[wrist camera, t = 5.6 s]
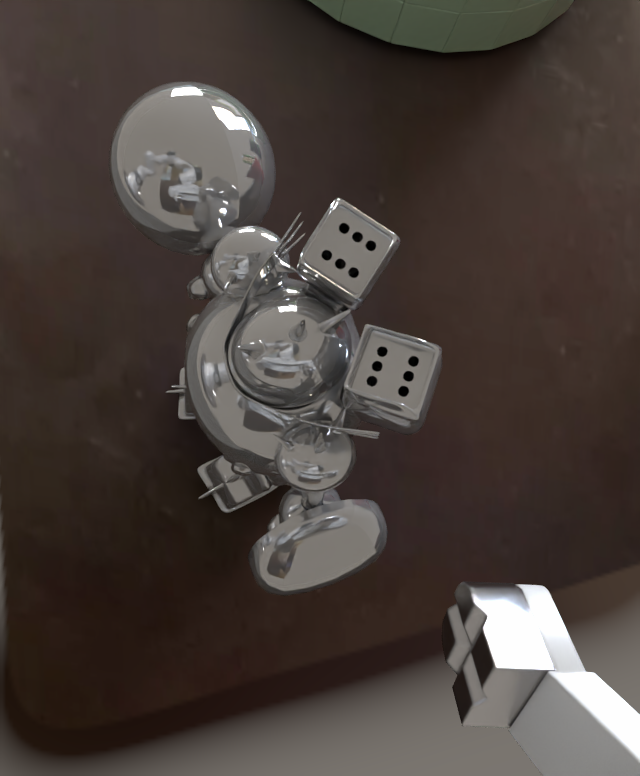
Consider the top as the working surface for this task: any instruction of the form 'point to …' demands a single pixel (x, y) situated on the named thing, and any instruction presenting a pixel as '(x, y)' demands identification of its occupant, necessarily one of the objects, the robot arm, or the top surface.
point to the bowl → (446, 21)
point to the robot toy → (272, 331)
